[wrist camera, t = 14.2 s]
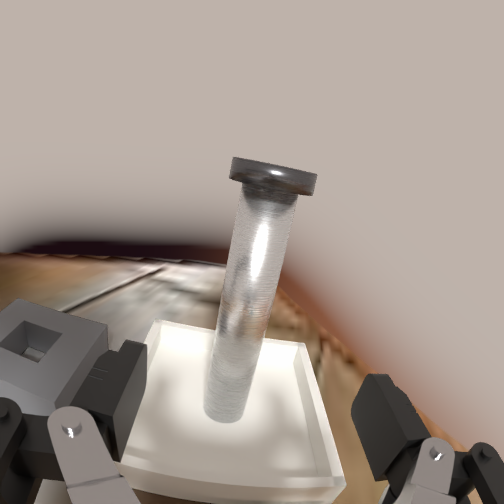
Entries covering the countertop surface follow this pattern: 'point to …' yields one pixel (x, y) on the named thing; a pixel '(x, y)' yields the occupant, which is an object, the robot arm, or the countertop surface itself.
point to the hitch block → (46, 355)
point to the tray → (230, 428)
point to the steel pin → (251, 279)
